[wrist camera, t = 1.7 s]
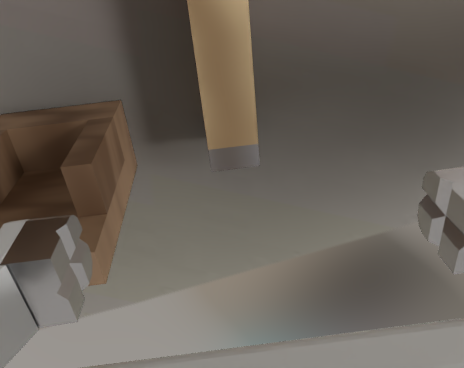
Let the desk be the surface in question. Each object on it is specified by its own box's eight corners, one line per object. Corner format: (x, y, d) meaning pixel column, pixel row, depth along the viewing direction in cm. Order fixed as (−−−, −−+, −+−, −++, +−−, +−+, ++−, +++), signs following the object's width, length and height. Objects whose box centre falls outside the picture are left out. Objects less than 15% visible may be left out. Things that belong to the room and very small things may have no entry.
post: (28, 178, 30) (-60, 304, 20) (1, 114, 27) (-116, 220, 17) (137, 165, 30) (106, 283, 20) (121, 100, 27) (75, 197, 17)
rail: (233, -83, 23) (242, -88, 18) (250, 132, 29) (259, 165, 25) (179, -77, 22) (175, -80, 18) (209, 137, 29) (211, 171, 25)
